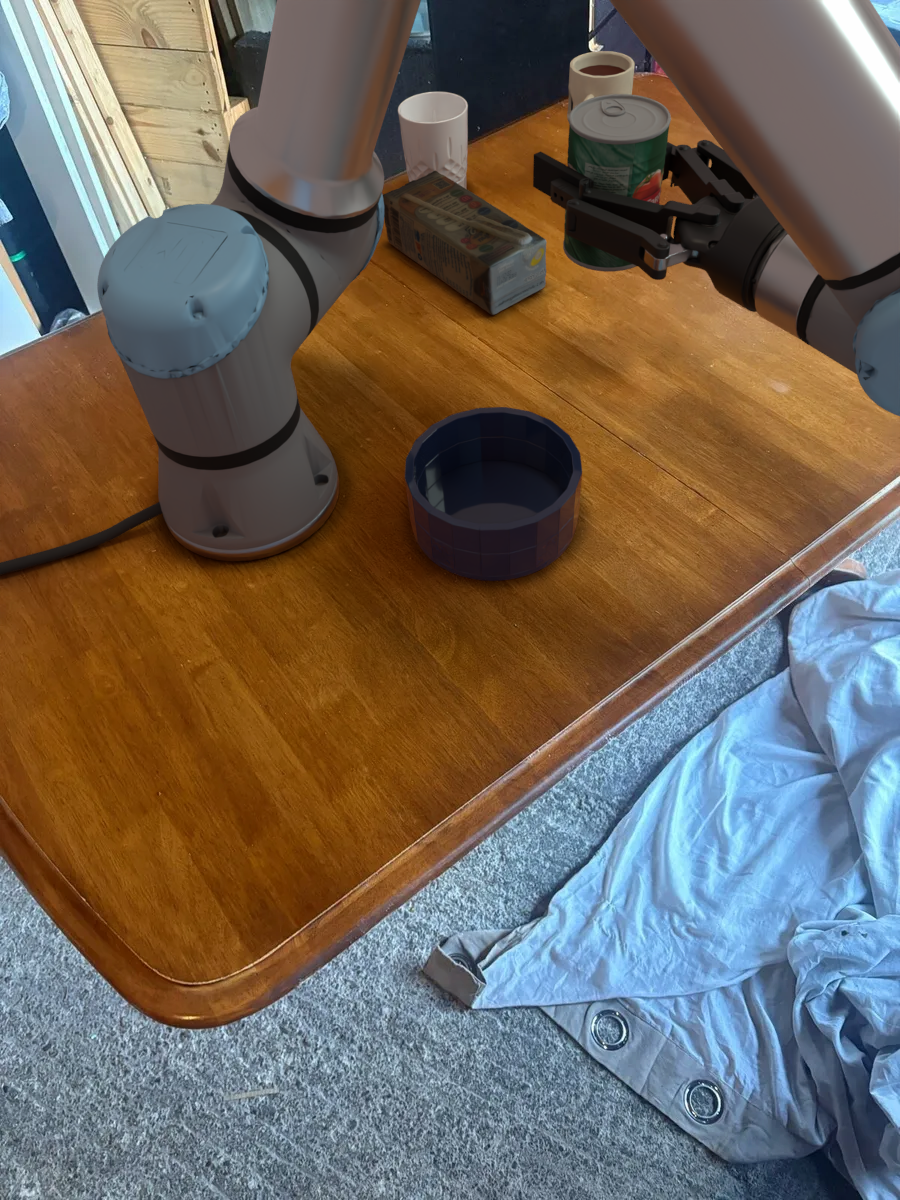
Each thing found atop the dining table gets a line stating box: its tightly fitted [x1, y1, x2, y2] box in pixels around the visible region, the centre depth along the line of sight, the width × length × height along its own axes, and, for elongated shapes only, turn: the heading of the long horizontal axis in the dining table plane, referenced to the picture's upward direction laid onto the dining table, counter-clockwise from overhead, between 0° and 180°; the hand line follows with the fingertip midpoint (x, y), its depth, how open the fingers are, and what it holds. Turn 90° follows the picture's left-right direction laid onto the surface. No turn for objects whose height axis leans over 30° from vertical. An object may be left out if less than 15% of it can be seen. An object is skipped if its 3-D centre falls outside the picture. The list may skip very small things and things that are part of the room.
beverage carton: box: [382, 171, 548, 316], centre depth 95 cm, size 8×19×7 cm, turn 37°
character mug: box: [566, 50, 636, 123], centre depth 103 cm, size 11×7×13 cm, turn 156°
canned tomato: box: [562, 94, 672, 273], centre depth 74 cm, size 8×8×11 cm
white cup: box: [397, 91, 469, 189], centre depth 104 cm, size 8×8×10 cm
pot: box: [404, 406, 583, 582], centre depth 72 cm, size 14×14×6 cm
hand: (575, 152), depth 75 cm, fingers closed on canned tomato, 8 cm apart
